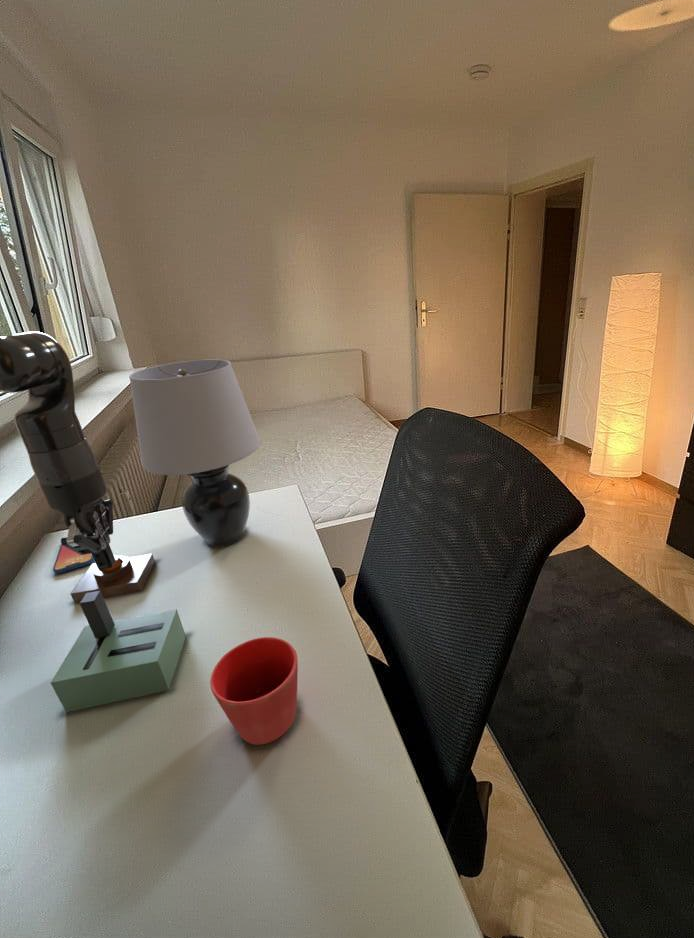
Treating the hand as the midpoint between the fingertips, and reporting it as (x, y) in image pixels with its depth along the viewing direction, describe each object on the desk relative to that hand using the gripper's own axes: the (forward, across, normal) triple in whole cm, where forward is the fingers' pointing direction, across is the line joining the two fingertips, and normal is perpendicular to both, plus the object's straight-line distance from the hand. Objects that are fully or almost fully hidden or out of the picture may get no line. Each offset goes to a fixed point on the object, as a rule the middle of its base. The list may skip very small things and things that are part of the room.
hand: (107, 566), depth 73 cm
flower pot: (+14, +24, +25) cm, 37 cm away
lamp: (+14, -27, +12) cm, 33 cm away
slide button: (+8, +7, 0) cm, 10 cm away
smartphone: (+14, -30, -21) cm, 39 cm away
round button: (+10, -16, -8) cm, 21 cm away
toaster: (+14, +10, +3) cm, 17 cm away
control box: (+14, -16, -8) cm, 23 cm away
